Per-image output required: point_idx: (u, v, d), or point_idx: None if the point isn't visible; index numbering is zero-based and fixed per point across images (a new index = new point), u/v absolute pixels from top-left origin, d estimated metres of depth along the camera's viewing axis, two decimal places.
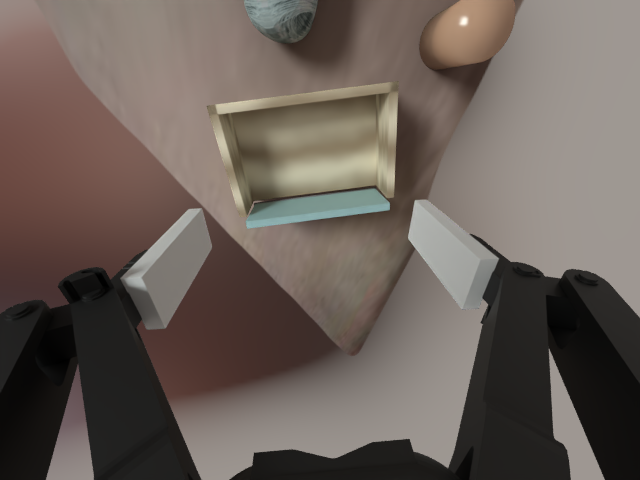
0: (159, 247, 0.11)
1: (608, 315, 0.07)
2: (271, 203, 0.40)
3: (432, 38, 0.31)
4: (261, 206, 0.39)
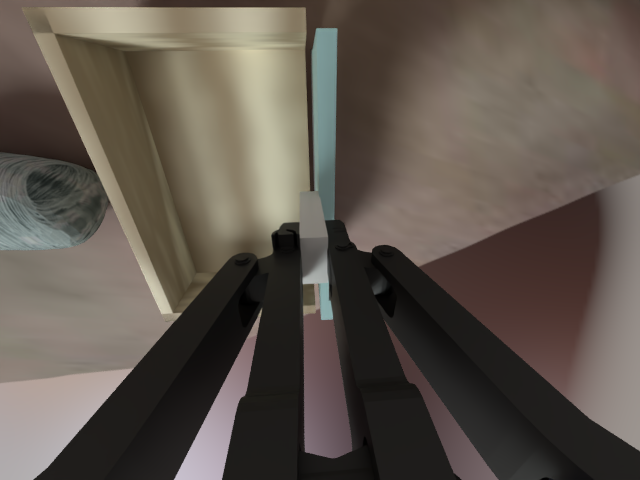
0: (306, 218, 0.13)
1: (409, 280, 0.09)
2: None
3: None
4: None
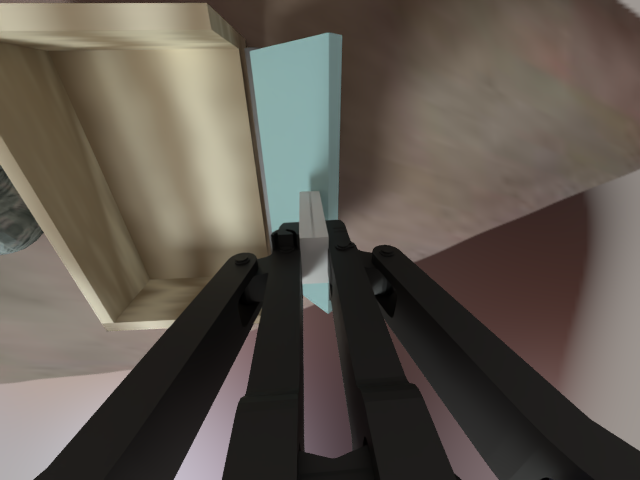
0: (306, 218, 0.13)
1: (410, 279, 0.09)
2: None
3: None
4: None
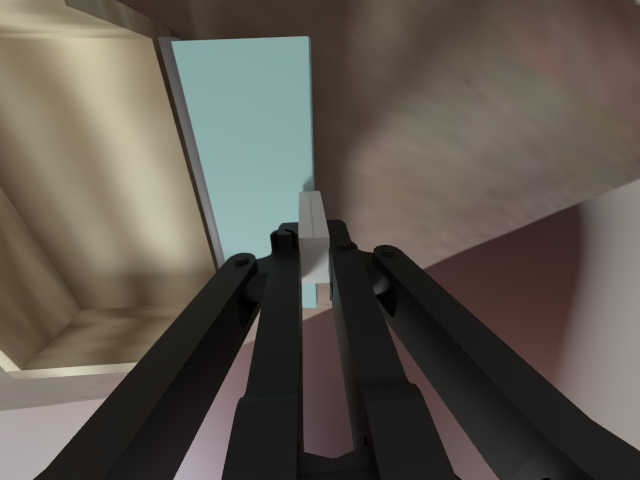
0: (305, 218, 0.13)
1: (411, 280, 0.09)
2: None
3: None
4: None
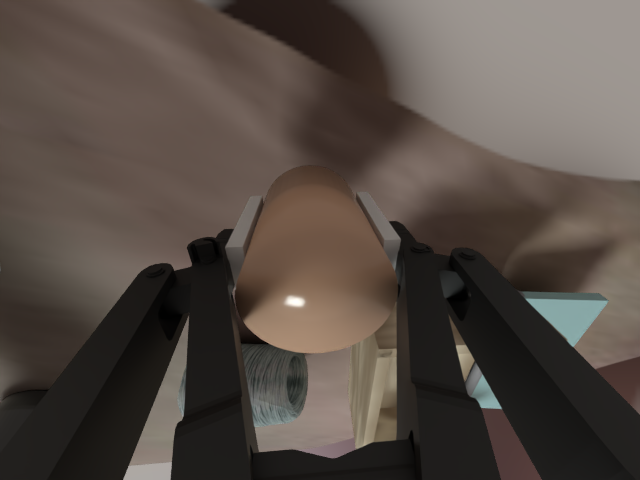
0: (243, 225, 0.13)
1: (489, 285, 0.09)
2: (477, 396, 0.32)
3: None
4: (481, 402, 0.33)
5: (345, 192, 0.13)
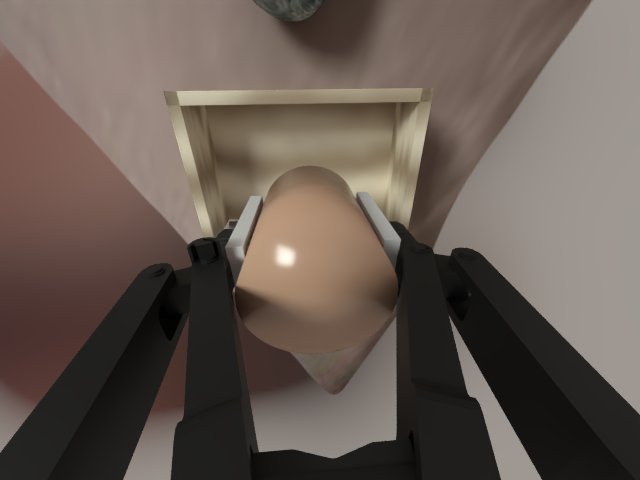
0: (243, 225, 0.13)
1: (489, 285, 0.09)
2: None
3: None
4: None
5: (345, 192, 0.13)
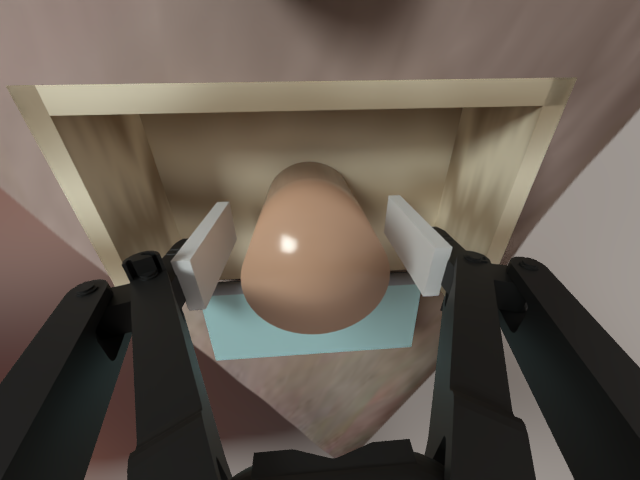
0: (198, 235, 0.12)
1: (550, 298, 0.08)
2: (232, 301, 0.22)
3: None
4: (217, 311, 0.22)
5: (342, 185, 0.14)
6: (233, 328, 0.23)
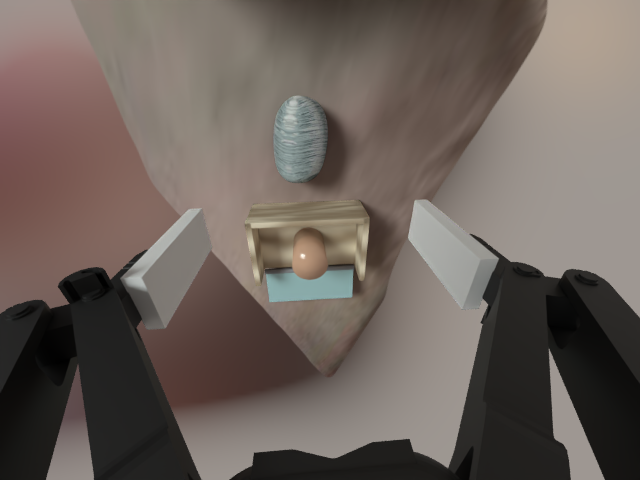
0: (159, 247, 0.11)
1: (608, 315, 0.07)
2: (278, 276, 0.56)
3: None
4: (272, 280, 0.57)
5: (318, 238, 0.48)
6: (278, 287, 0.58)
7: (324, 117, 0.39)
